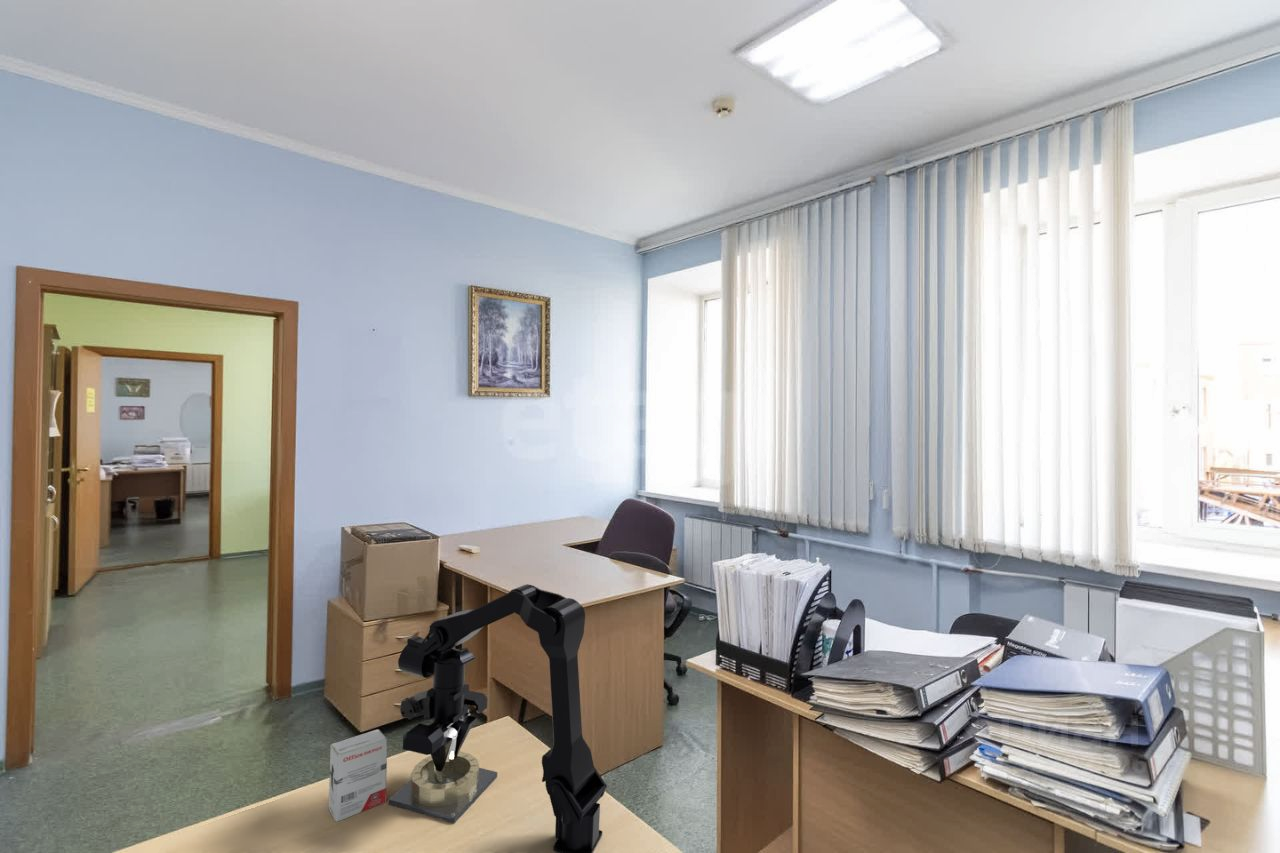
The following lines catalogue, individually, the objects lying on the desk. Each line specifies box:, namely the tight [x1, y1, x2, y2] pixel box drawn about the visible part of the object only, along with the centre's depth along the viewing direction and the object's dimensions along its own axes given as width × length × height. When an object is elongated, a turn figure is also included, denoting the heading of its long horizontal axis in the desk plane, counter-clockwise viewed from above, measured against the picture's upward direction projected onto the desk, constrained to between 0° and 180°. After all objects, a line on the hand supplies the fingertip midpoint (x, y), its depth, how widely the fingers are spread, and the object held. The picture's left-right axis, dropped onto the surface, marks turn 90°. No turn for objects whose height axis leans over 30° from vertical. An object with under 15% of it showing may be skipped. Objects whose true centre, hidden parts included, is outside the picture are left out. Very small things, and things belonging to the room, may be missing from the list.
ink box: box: [328, 729, 388, 823], centre depth 105 cm, size 8×5×12 cm, turn 133°
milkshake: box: [434, 727, 461, 783], centre depth 110 cm, size 4×5×10 cm
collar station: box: [387, 751, 498, 824], centre depth 110 cm, size 14×14×4 cm
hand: (446, 764), depth 110 cm, fingers closed on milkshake, 4 cm apart
